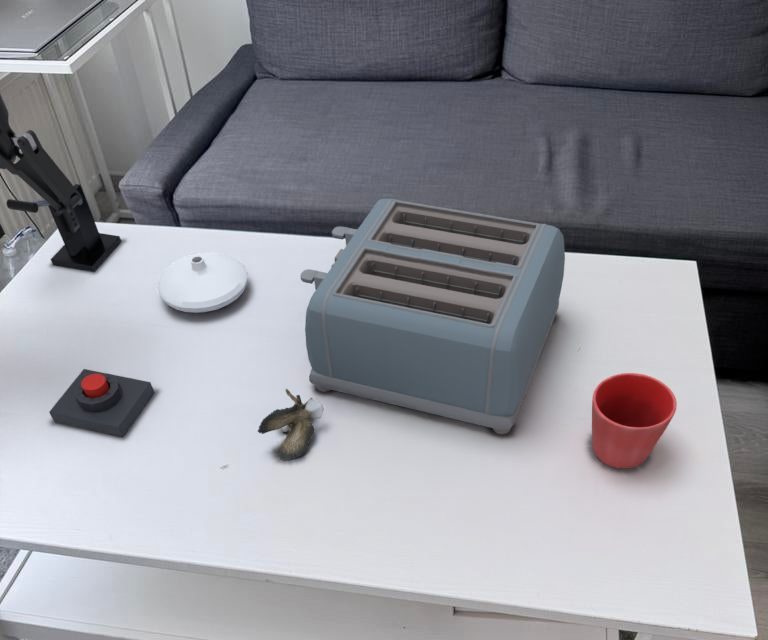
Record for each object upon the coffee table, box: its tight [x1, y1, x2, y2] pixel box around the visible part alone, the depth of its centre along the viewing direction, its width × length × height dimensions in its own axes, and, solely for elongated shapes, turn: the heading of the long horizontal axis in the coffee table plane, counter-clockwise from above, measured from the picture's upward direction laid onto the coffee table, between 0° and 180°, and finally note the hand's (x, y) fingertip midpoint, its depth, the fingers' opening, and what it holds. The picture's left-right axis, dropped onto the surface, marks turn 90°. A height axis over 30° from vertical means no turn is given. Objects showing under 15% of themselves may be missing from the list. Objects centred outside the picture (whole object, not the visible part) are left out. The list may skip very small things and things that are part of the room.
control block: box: [48, 368, 155, 438], centre depth 114 cm, size 12×10×4 cm
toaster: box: [299, 197, 566, 435], centre depth 114 cm, size 31×36×17 cm
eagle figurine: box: [257, 388, 324, 461], centre depth 108 cm, size 8×7×9 cm
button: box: [81, 374, 109, 398], centre depth 112 cm, size 4×4×2 cm
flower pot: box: [591, 372, 677, 469], centre depth 102 cm, size 11×11×10 cm
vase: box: [156, 251, 248, 314], centre depth 130 cm, size 16×16×7 cm
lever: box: [6, 198, 60, 214], centre depth 129 cm, size 13×5×2 cm, turn 163°
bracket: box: [47, 183, 122, 273], centre depth 137 cm, size 10×9×13 cm
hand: (37, 244), depth 109 cm, fingers open, 13 cm apart
